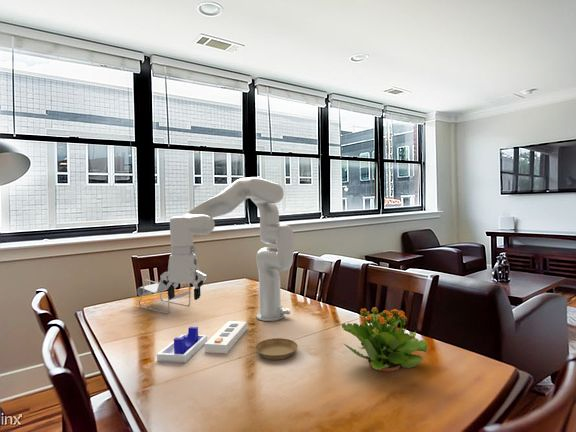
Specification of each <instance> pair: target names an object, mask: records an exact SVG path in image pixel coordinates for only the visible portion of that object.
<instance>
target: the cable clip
mask: <svg viewBox="0 0 576 432" xmlns="http://www.w3.org/2000/svg"><path fill="white" fill-rule="evenodd" d="M187 331H188V333H187V335H185V336H184V337H183V338H179V336H178V337H174V338H173V341H174V354H184V353H185V352H187V351H188V350H189V349H190V348H191V347H192V346H193V345H194V344H195V343H196V342H198V335H199V327H198V326H189V327H188V330H187Z"/></svg>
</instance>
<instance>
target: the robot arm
mask: <svg viewBox="0 0 576 432" xmlns="http://www.w3.org/2000/svg"><path fill="white" fill-rule="evenodd" d="M284 194H285V193H284V188H283V187H282V186H281V185H280V184H279V183H277V182H274V181H271V180H269V179H268V180H267V179H264V178H261V177H257V176H250V177H241V178H238V179H236V180H234V182H232V183H231V184H229V185H228V186H227V187H225V189H223V190H222V191H220V192H219V193H218V194H217V195H215V196H213V197H211V198H209V199H207V200H205V201H203V202H200V203H199V204H198V205H195V206H194V207H193V208H191V209H190V210H189V211H188V212H187V213H185V214H184V215H176V216H171V218H170V220H169V233H170V237H169V238H170V255H169V257H168V258H169V259H168V265H167V270H166V271H165V272H166V273H164V272H163V273H164V274H163V273H162V274H160V275H159V276H160V279H162V281H163V283H164V284H165V286H166V288H168V290H167V297H168V296H169V299H172V298H174V297H175V295H176V294H175V293H176V292H175V288H174V286H173V284H174V283H179V284H189V283H190V284H192V286H193V287H194V289H193V298H194V301H196V300H199V299H200V298H201V294H202V293H201V287H202V286H203V285H204V283H206V279H207V278H208V275H207V274H205V273H203V272H201V271H200V268H199V262H198V259H197V254H196V253H194V252H197V250H198V249H197V247H194V240H193V239H194V238H193V236H195V235H197V236H198V235H199V236H206V235H209V234H211V233H212V232H213V231H214V229H215V226H216V223H215V220H214V218H217V217H220V216H224V215H227V214H229V213H232V212H233V211H234V210H235V209H237V207H239V206H240V205H241V204H242V203H243V202H245V201H246V200H247V199H250V200H251V202H253V204H255V206H256V207H257V209H258V211H259V238H260V242H262V243H263V244H267V245H275V246H276V247H270V246H264V247H262V248H259V249H258V250H257V253H256V256H255V261H256V266H257V270H258V292H259V293H258V294H259V312H257V313H256V319H257V320H259V321H265V322H274V321H280V320H282V319H283V318H284V317H285V315H291V309H290V308H284V307H283V305H281V301H282V300H281V276H280V272H279V271H287V270H290V269H291V267H292V265H293V262H294V244H295V243H294V242H295V241H294V240H295V239H294V238H295V236H294V231H293V228H292V227H291V225H289V224H287V223H280V212H279V208H278V206H277V205H276V204H278V203H280V202H281V201H282V199H283V198H284ZM166 276H168V280H169V281H168V280H167V278H166ZM200 278H201V279H200Z"/></svg>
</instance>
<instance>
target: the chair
mask: <svg viewBox="0 0 576 432" xmlns="http://www.w3.org/2000/svg"><path fill="white" fill-rule="evenodd" d="M166 272H167V271H165V272H162V274H164V273H166ZM166 278H167V280H168V276H166ZM145 281H146V282H150V283H151V284H148V285H145ZM168 281H169V280H168ZM179 284H180V283H174V284H173V286H174V289H176V288H178V287H179ZM165 291H168V288H166V286H165V284H164V283H163V281H162V279H161V278H160V280H159V281H153V280H149V279H143V280H142V286H140V287H138V288H137V295H138V296H139V297H140V298H139V300H138V306H139V308H142V309H147V310H151V311H155V312H160V313H164V314H169V313H170V303H171V304H176V305H181V306H186V307H190V306H191V283H188V291H184V292H181V293H178V294H175V297H174V298H172V299H169V296H168V295H167V300H165V299H163V298H162V295H163V293H164V292H165ZM158 293H160V295H159V300H161V302H165V303H167V309H168V310H167V311H164V310H160V309H154V308H150V307H146V306H142V305H141V300H142V298H143V297H145V296H147V295H152V294H158ZM185 296H188V304H185V303H179V302H174V301H173V300H176V299H178V298H182V297H185Z"/></svg>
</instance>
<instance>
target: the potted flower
mask: <svg viewBox="0 0 576 432" xmlns="http://www.w3.org/2000/svg"><path fill="white" fill-rule="evenodd" d="M370 312H372V313H370ZM405 315H406V314H405V311H403V310H401V309H400V310H398V309H396V308H395V309H391V310H390V311H389V310H388V309H386V310H385V309H384V310H383V311H382V312H380V313H379V310H378V308H377V307H376V306H375V307H372V309H371V310H370V311H367V309H366V308H361V309H360V316H363V319H364V321H365V323H363V324H362V323H360V324H358V323H356V322H354V323H349V322H348V323H347V324H346V323H344V322H343V323H341V327H342V329H343V331H345V332H347V333H349V334H351V335H353V336H354V337H356V338H357V339H358V341H360V344H361V347H360V346H358V348H359V349H361V350H365V352H366V354H367V355H364V354H363V353H360V352H359V351H357V350H356V349H354V348H352V347H350V346H349V345H347V344H345V343H343V345H344V346H345V347H346V348H348V349H349V350H350V351H351V352H352V353H354V354H355V355H356V356H358V357H360V358H362V359H363V360H364V359H365V360H367V362H368V365H369V366H370V368H371V369H374V370H376V371H379V372H383V373H384V372H386V373H388V372H395V371H398V370H400V368H401V367H403V368H404V369H406V368H407V369H410V368H415V367H416V366H419V364H420V363H421V361H423V360H424V359H423V357H422V356H421V355H418V354H413V352H416V351H417V352H423V353H427V351H428V341H427V340H423V339H420V340H419V339H418V338H416V337H415V336H417V331H414V332H412V333H410V334H409V333H407V332H405V331H406V330H407V328H404V326H405V325H406V323H407V321H408V318H407V316H405ZM388 324H389V325H388ZM399 324H400V327H399V329H398V325H399ZM397 329H398V330H397Z"/></svg>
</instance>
